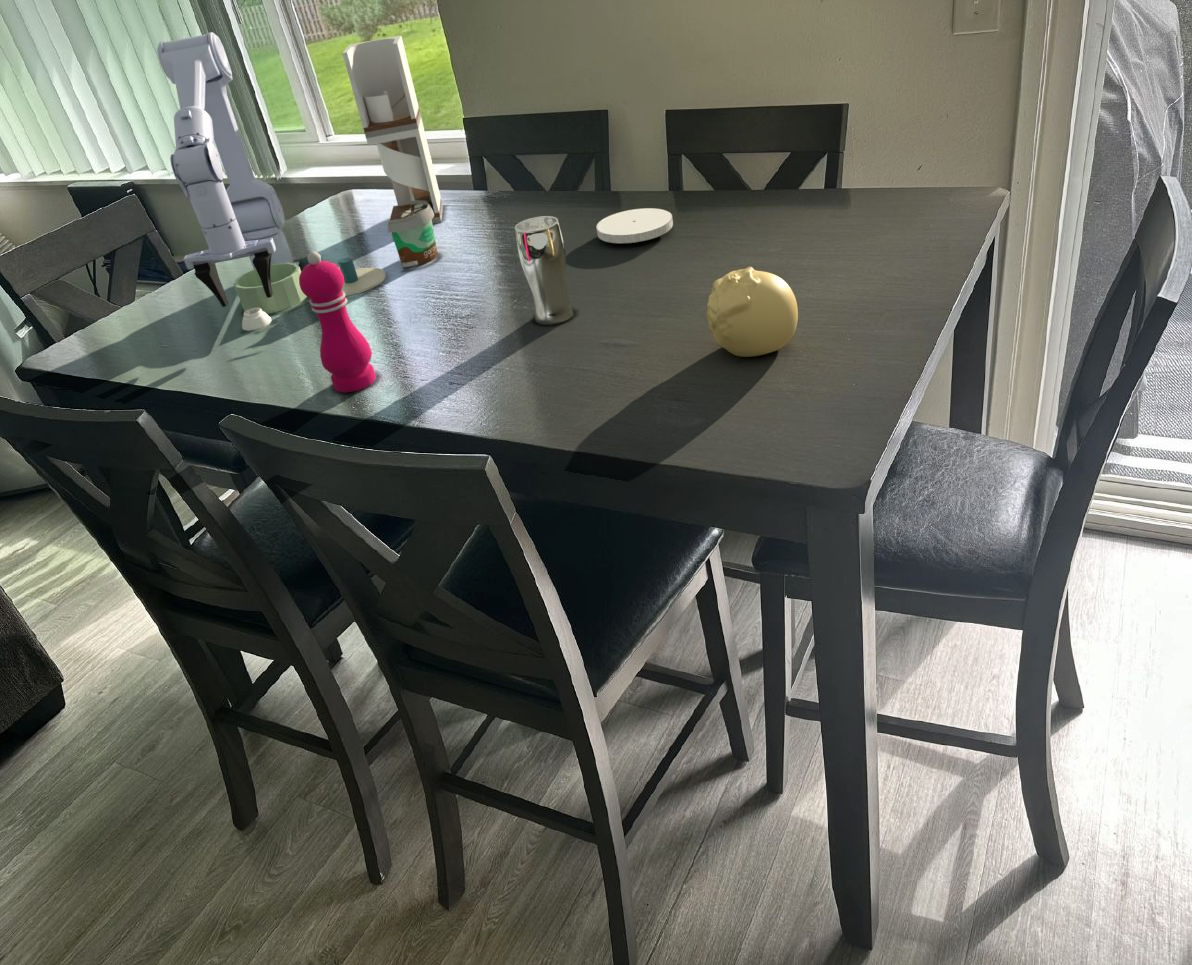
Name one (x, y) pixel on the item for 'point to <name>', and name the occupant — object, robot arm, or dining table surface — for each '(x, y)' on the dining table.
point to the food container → (414, 234)
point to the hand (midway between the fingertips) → (247, 300)
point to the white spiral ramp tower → (393, 120)
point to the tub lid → (359, 277)
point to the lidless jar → (255, 319)
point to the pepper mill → (336, 327)
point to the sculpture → (752, 312)
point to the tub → (282, 288)
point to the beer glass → (544, 267)
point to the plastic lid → (634, 225)
